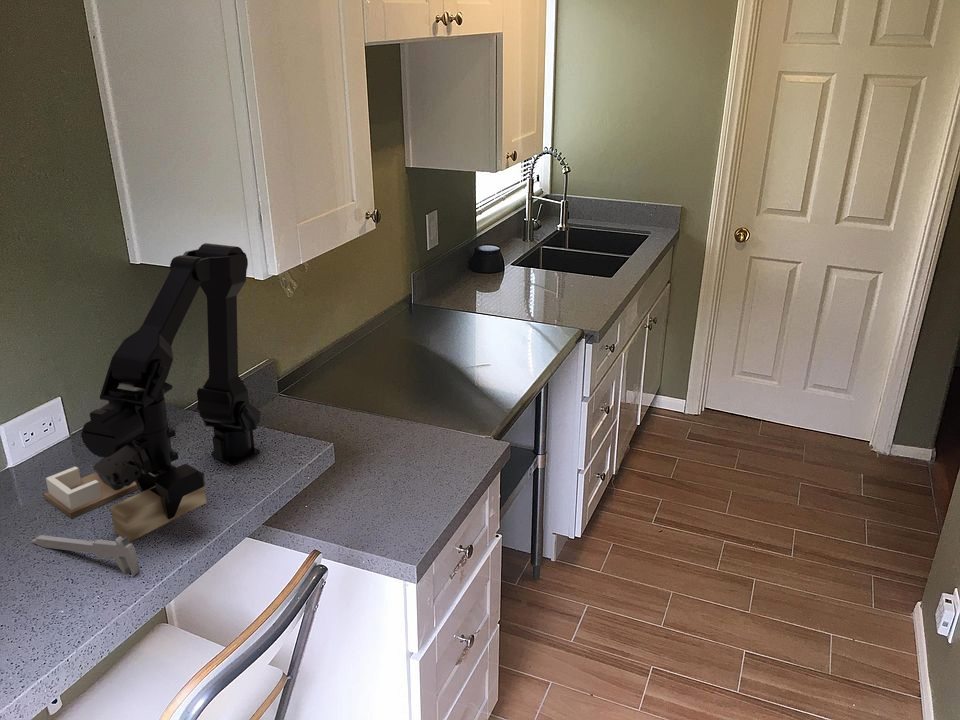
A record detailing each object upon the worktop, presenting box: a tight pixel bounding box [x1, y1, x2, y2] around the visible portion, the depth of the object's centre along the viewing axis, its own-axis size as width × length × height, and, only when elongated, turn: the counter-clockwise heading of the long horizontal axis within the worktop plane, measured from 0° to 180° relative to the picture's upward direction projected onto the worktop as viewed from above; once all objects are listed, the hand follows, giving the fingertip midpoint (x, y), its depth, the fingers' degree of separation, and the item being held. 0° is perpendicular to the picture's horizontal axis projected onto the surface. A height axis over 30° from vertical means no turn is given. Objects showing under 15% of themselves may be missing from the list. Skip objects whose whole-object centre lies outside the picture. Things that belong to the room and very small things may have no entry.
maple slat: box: [109, 485, 207, 543], centre depth 126 cm, size 14×4×5 cm, turn 144°
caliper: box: [30, 534, 141, 577], centre depth 116 cm, size 20×1×6 cm, turn 69°
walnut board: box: [43, 463, 177, 519], centre depth 135 cm, size 19×9×1 cm, turn 142°
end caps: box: [45, 461, 173, 510], centre depth 134 cm, size 18×8×3 cm, turn 142°
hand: (161, 511), depth 126 cm, fingers open, 5 cm apart
